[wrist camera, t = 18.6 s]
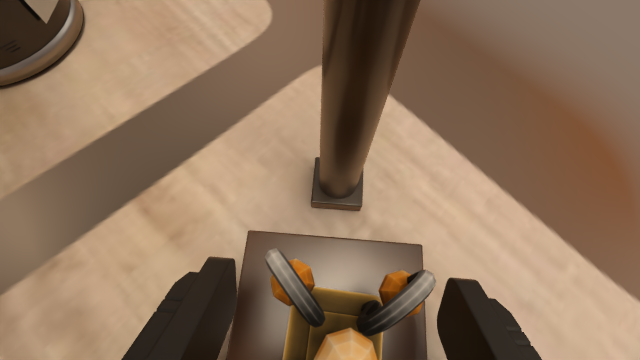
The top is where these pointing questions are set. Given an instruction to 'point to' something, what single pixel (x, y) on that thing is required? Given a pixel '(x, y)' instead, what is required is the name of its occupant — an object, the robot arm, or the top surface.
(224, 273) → the robot arm
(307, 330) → the decorative sculpture
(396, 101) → the top surface
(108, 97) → the top surface
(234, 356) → the display stand
